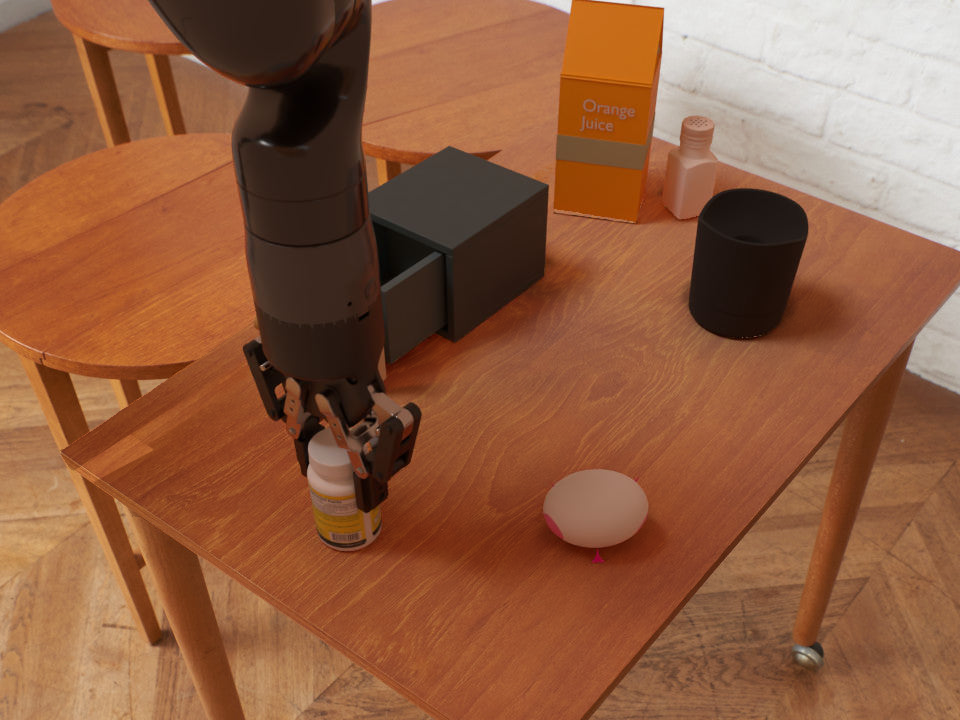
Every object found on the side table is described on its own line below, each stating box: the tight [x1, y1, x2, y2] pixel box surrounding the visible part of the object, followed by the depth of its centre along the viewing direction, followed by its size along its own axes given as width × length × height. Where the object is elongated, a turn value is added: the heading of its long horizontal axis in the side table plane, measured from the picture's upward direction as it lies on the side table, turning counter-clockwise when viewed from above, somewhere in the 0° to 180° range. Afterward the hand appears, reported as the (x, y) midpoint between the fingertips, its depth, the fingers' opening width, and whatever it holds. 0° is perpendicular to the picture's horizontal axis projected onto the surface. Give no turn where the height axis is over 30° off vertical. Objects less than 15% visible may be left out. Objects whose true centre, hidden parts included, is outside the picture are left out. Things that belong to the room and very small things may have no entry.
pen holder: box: [688, 187, 810, 339], centre depth 93 cm, size 9×9×10 cm
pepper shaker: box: [661, 115, 719, 220], centre depth 106 cm, size 4×4×10 cm
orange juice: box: [553, 0, 665, 222], centre depth 103 cm, size 8×9×20 cm
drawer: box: [253, 221, 448, 382], centre depth 89 cm, size 17×10×8 cm, turn 143°
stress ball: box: [542, 468, 649, 564], centre depth 76 cm, size 8×8×7 cm
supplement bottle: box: [306, 427, 383, 552], centre depth 74 cm, size 5×5×8 cm
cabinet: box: [368, 145, 550, 344], centre depth 96 cm, size 14×12×10 cm
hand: (343, 487), depth 74 cm, fingers closed on supplement bottle, 4 cm apart
